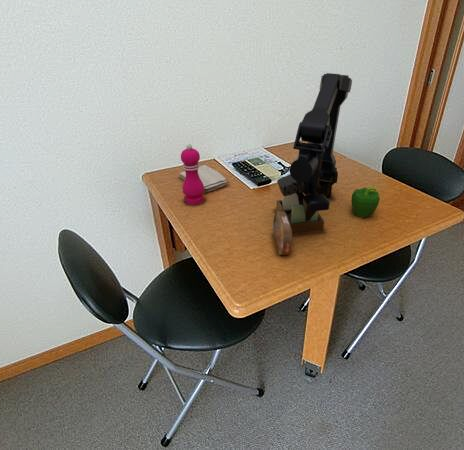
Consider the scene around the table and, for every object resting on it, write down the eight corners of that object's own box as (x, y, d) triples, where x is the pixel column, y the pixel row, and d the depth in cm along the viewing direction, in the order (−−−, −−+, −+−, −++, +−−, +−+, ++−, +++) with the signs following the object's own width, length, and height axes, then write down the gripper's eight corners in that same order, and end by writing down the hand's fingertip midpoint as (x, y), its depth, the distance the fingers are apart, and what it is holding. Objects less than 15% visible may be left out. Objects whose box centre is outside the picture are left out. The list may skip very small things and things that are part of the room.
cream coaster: (281, 211, 110) (283, 189, 105) (305, 209, 111) (307, 187, 106) (282, 212, 109) (283, 190, 104) (306, 210, 110) (308, 188, 106)
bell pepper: (344, 214, 109) (349, 187, 104) (355, 205, 114) (360, 178, 109) (368, 224, 105) (375, 195, 99) (379, 213, 110) (386, 186, 104)
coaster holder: (276, 210, 111) (276, 200, 109) (307, 207, 113) (308, 197, 111) (287, 235, 99) (288, 224, 97) (322, 232, 101) (324, 221, 99)
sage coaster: (289, 228, 101) (291, 205, 97) (315, 225, 103) (318, 202, 98) (290, 230, 101) (292, 206, 96) (316, 227, 102) (319, 204, 97)
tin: (272, 229, 102) (273, 205, 97) (282, 229, 102) (284, 204, 97) (280, 261, 89) (281, 235, 85) (291, 261, 90) (294, 234, 85)
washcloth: (203, 195, 119) (202, 187, 118) (177, 177, 131) (177, 170, 129) (230, 185, 126) (230, 178, 124) (204, 170, 137) (203, 162, 135)
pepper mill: (201, 206, 113) (196, 149, 102) (180, 204, 114) (173, 147, 103) (207, 196, 119) (203, 141, 108) (188, 194, 120) (182, 139, 109)
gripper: (272, 155, 97) (270, 202, 106) (290, 184, 82) (286, 236, 90) (310, 153, 99) (304, 199, 107) (334, 181, 83) (326, 232, 92)
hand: (304, 216), depth 99 cm, fingers open, 5 cm apart
